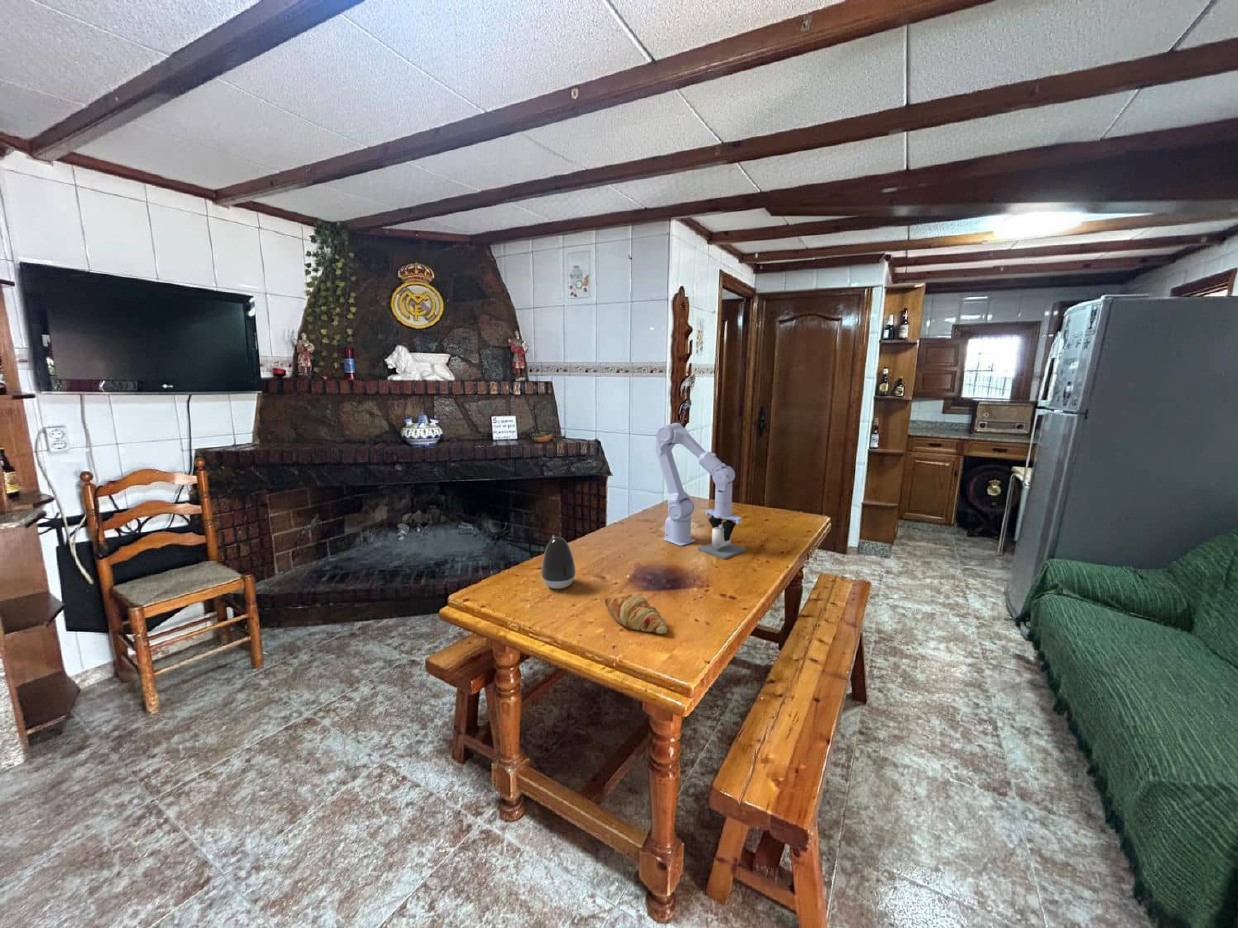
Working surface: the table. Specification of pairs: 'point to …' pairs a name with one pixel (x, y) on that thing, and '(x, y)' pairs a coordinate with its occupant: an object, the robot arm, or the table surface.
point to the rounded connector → (719, 537)
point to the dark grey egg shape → (558, 564)
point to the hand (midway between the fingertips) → (722, 538)
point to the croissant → (636, 614)
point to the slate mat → (722, 550)
